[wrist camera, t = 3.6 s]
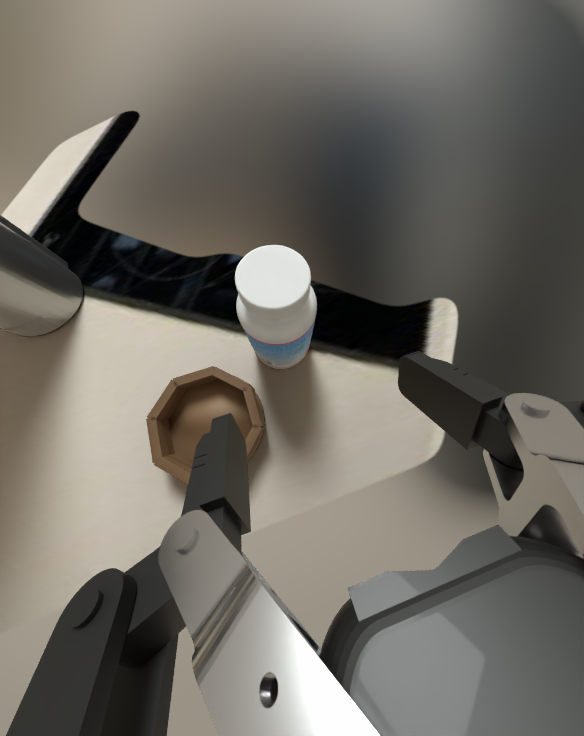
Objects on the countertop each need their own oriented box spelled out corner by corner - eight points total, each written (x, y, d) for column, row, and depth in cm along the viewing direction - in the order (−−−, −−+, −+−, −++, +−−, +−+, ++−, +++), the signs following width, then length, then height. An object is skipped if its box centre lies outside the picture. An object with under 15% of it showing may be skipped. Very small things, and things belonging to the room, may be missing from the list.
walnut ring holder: (158, 391, 22) (139, 387, 19) (249, 362, 23) (244, 354, 20) (175, 492, 20) (156, 503, 17) (277, 455, 20) (274, 461, 18)
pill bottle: (318, 355, 23) (342, 295, 12) (268, 379, 22) (246, 338, 11) (293, 311, 24) (295, 221, 14) (246, 332, 24) (207, 256, 13)
